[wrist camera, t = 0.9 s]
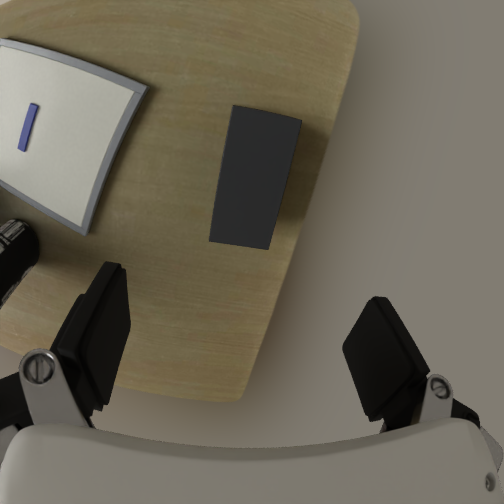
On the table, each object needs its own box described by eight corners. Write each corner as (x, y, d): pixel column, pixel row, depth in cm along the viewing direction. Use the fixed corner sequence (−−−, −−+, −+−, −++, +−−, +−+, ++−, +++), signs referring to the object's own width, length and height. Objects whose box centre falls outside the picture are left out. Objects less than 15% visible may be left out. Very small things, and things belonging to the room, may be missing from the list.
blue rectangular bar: (31, 102, 16) (29, 103, 16) (38, 106, 17) (37, 106, 17) (18, 148, 18) (17, 148, 18) (25, 151, 19) (23, 152, 19)
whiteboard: (4, 38, 11) (0, 37, 11) (150, 86, 19) (147, 86, 18) (-30, 161, 18) (-34, 163, 17) (88, 233, 25) (85, 237, 24)
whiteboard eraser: (232, 104, 20) (232, 105, 16) (286, 115, 21) (302, 120, 16) (212, 212, 25) (208, 241, 20) (261, 220, 26) (268, 250, 21)
